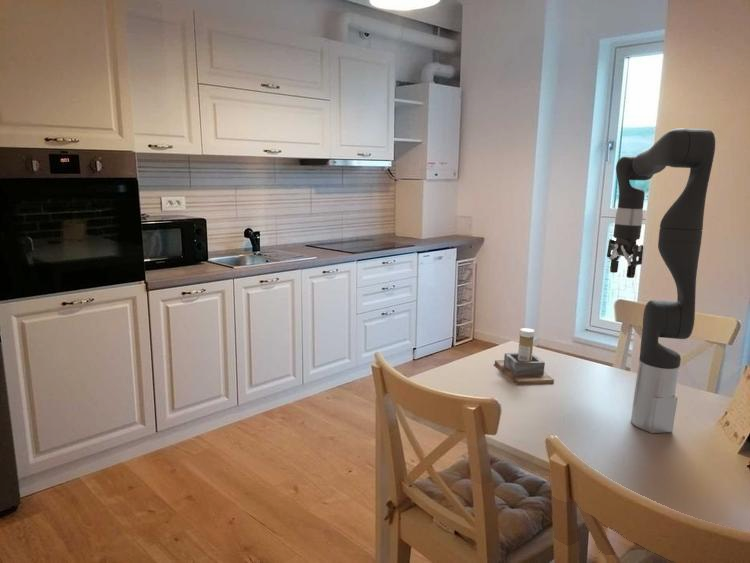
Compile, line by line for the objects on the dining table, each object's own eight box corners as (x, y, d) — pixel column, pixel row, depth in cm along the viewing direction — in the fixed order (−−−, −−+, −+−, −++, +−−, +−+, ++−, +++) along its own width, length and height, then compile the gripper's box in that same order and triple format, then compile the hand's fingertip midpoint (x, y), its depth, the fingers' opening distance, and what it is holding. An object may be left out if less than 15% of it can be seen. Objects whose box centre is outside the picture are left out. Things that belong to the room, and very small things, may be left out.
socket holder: (553, 383, 168) (555, 367, 167) (517, 384, 166) (518, 368, 165) (528, 362, 185) (529, 348, 184) (494, 363, 183) (495, 349, 182)
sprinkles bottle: (533, 370, 175) (537, 330, 172) (526, 373, 172) (529, 332, 169) (521, 366, 178) (524, 326, 176) (513, 369, 175) (517, 329, 172)
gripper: (654, 225, 160) (647, 279, 163) (625, 220, 174) (618, 270, 177) (631, 225, 159) (624, 279, 162) (603, 220, 172) (597, 270, 176)
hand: (621, 274), depth 170 cm, fingers open, 8 cm apart
